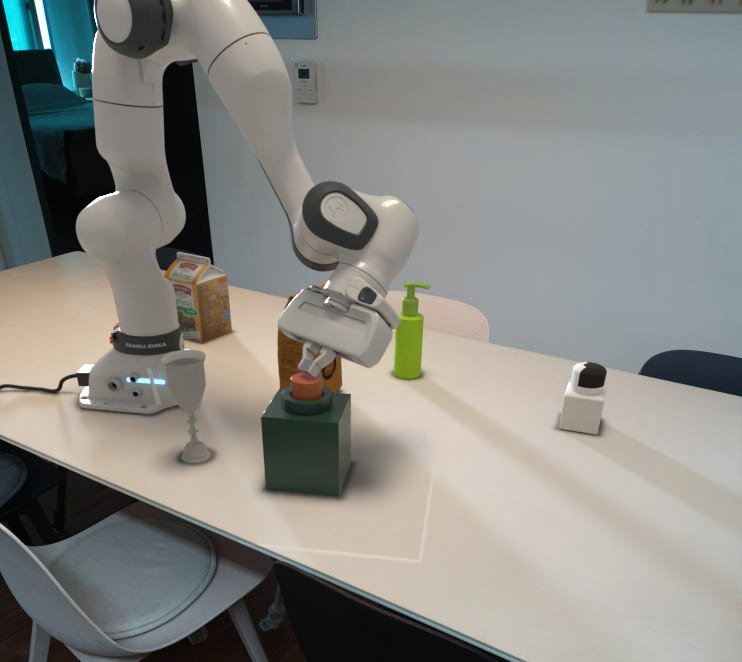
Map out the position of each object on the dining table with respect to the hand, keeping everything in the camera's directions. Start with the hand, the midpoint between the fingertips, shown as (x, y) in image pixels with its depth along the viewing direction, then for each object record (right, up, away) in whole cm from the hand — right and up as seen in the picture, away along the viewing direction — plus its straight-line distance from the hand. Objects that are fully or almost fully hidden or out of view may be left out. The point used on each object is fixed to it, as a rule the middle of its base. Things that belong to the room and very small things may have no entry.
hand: (306, 373), depth 110 cm
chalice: (-20, -12, +15) cm, 28 cm away
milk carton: (-32, +21, +69) cm, 79 cm away
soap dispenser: (+18, +8, +49) cm, 53 cm away
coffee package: (-2, +2, +38) cm, 38 cm away
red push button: (0, -3, +2) cm, 4 cm away
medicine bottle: (+50, -5, +28) cm, 58 cm away
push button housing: (0, -16, +10) cm, 18 cm away
